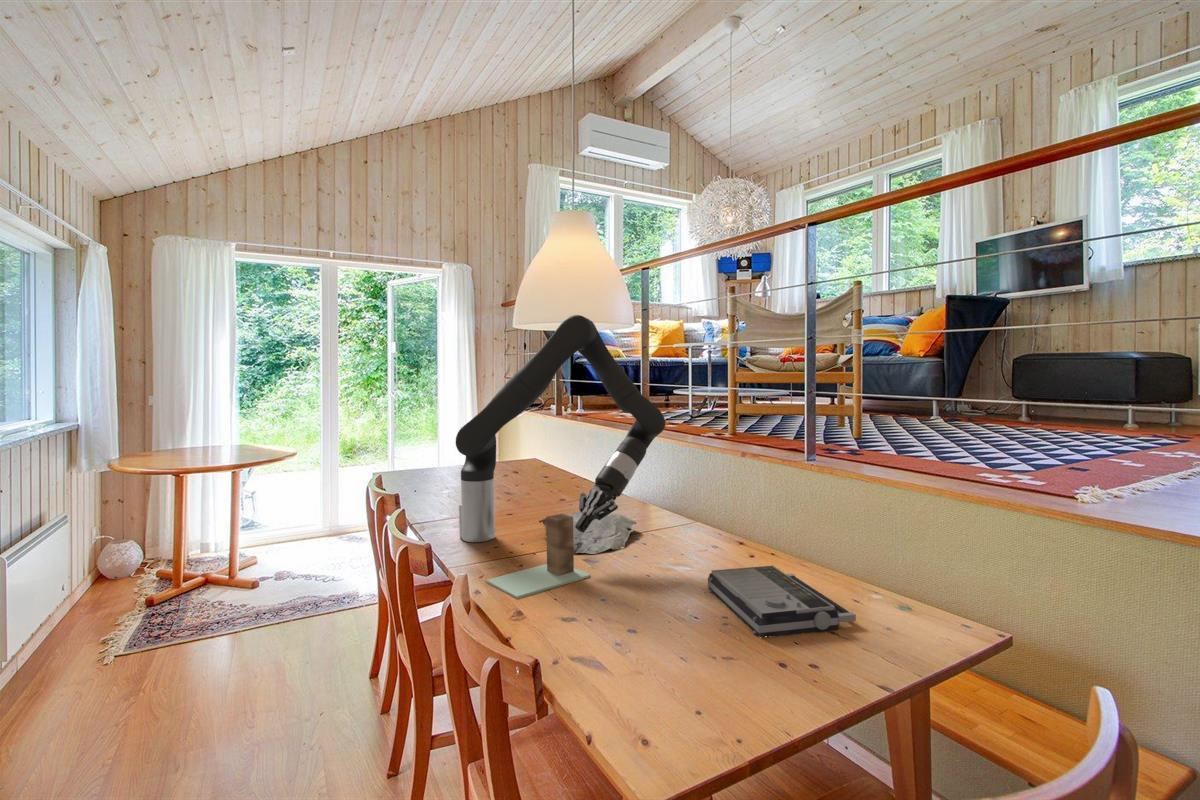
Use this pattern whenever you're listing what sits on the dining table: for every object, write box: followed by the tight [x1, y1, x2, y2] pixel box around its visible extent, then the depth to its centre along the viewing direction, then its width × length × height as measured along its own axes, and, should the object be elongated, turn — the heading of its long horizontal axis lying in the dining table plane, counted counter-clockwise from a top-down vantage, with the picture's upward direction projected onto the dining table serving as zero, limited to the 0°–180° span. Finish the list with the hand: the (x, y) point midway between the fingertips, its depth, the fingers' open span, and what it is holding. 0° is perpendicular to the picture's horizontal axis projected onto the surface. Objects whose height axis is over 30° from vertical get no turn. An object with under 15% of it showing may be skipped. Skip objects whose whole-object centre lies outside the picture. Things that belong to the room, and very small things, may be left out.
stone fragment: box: [538, 511, 637, 555], centre depth 167 cm, size 25×29×6 cm
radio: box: [707, 565, 857, 638], centre depth 117 cm, size 24×5×20 cm
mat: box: [485, 563, 591, 600], centre depth 135 cm, size 20×13×1 cm, turn 130°
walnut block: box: [545, 513, 575, 576], centre depth 138 cm, size 4×4×13 cm
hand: (579, 530), depth 142 cm, fingers closed
